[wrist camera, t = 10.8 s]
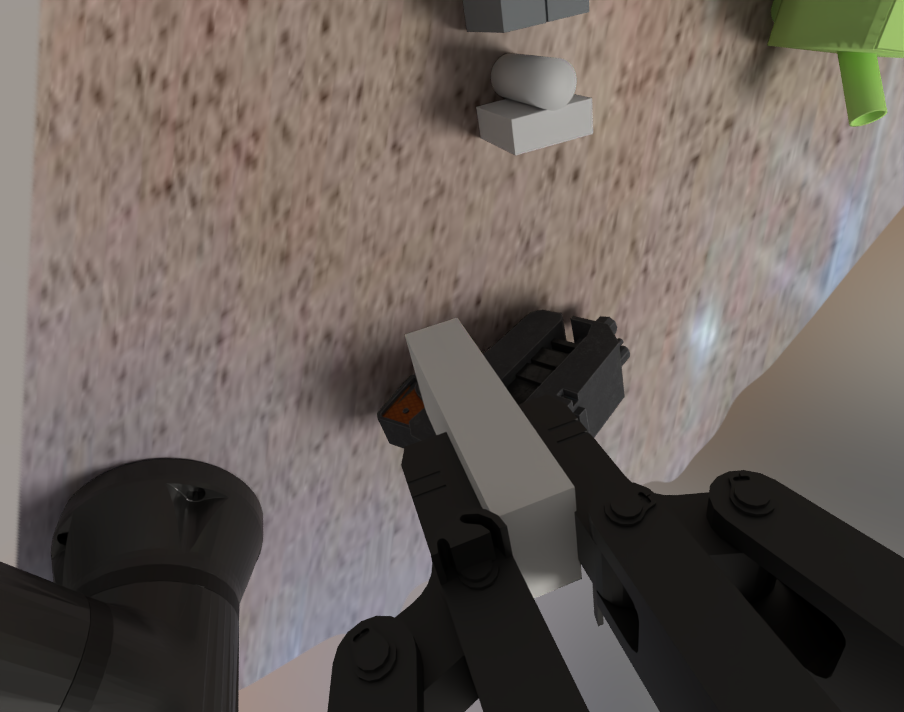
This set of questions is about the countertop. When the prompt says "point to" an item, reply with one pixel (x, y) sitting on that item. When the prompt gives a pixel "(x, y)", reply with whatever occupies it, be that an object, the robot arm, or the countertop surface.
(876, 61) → the kettle
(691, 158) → the countertop surface
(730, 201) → the countertop surface
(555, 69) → the tongs base
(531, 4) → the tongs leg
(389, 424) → the tool
